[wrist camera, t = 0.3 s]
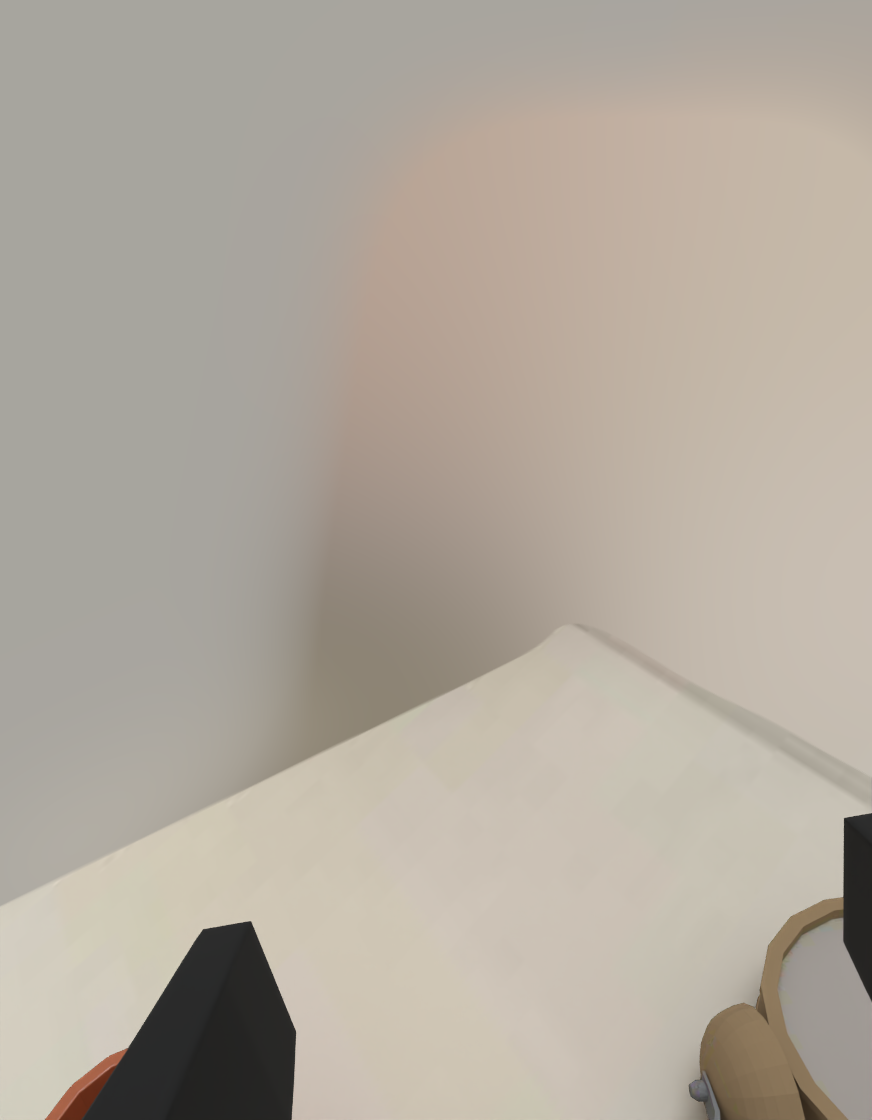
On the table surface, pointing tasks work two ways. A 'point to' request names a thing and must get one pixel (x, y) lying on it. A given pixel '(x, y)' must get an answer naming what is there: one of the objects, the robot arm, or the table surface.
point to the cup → (85, 1090)
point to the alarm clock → (794, 1033)
